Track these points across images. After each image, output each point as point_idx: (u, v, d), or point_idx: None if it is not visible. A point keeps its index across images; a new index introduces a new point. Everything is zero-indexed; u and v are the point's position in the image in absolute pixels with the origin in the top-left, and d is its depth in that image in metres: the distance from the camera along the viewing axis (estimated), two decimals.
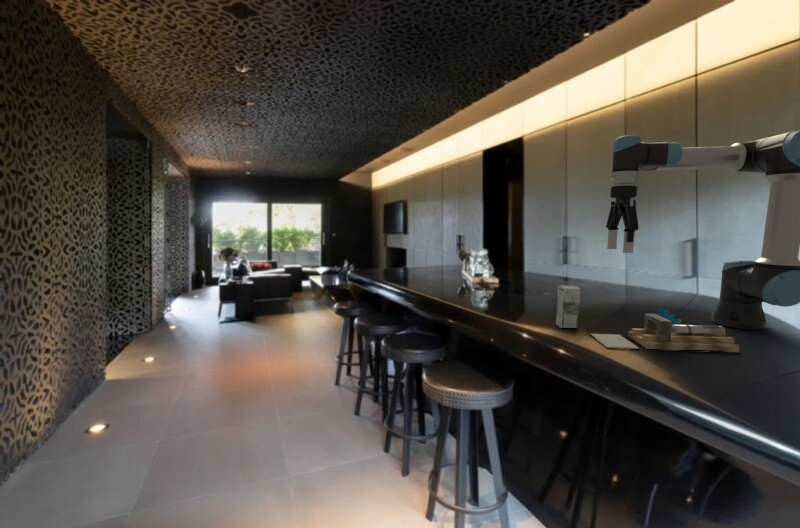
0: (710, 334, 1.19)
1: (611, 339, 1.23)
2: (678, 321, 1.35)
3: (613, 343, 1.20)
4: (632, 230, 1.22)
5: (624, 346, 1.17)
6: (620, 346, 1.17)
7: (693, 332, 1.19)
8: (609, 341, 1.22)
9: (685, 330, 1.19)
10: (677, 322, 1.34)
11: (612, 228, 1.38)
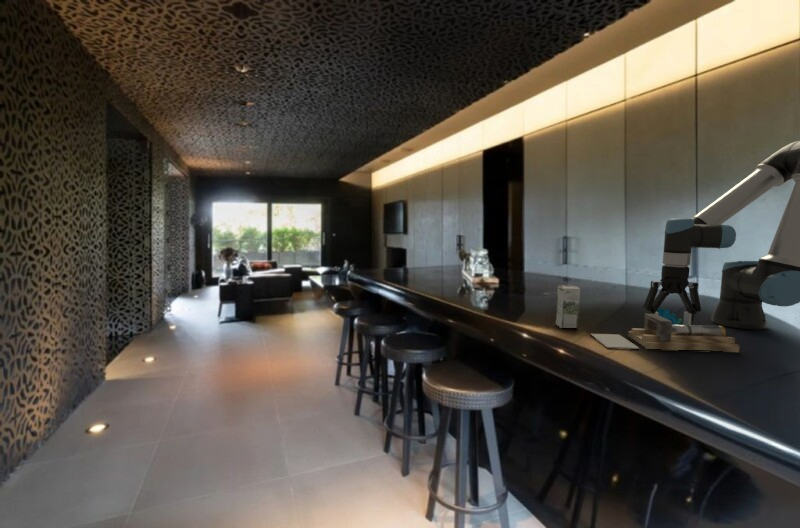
0: (710, 334, 1.19)
1: (611, 339, 1.23)
2: (679, 321, 1.35)
3: (613, 343, 1.20)
4: None
5: (624, 346, 1.17)
6: (620, 346, 1.17)
7: (693, 332, 1.19)
8: (609, 341, 1.22)
9: (685, 330, 1.19)
10: (677, 322, 1.34)
11: (689, 310, 1.33)
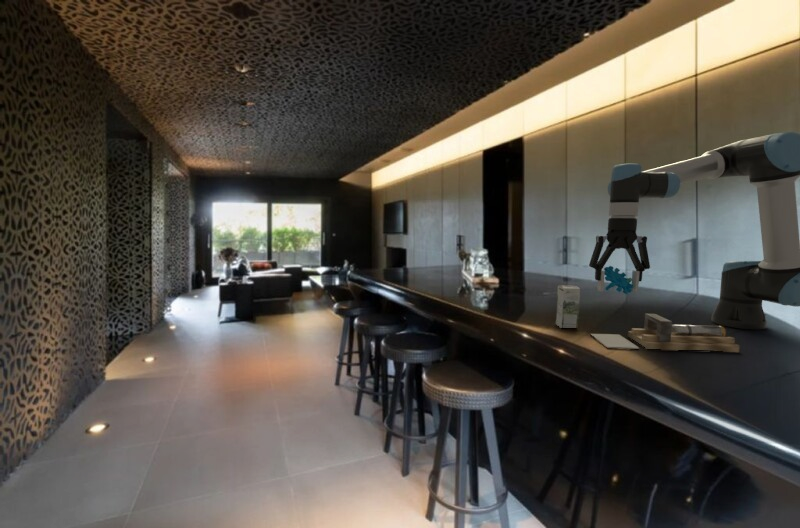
0: (710, 334, 1.19)
1: (611, 339, 1.23)
2: (628, 280, 1.22)
3: (613, 343, 1.20)
4: None
5: (624, 346, 1.17)
6: (620, 346, 1.17)
7: (693, 332, 1.19)
8: (609, 341, 1.22)
9: (685, 330, 1.19)
10: (626, 281, 1.21)
11: (637, 268, 1.20)
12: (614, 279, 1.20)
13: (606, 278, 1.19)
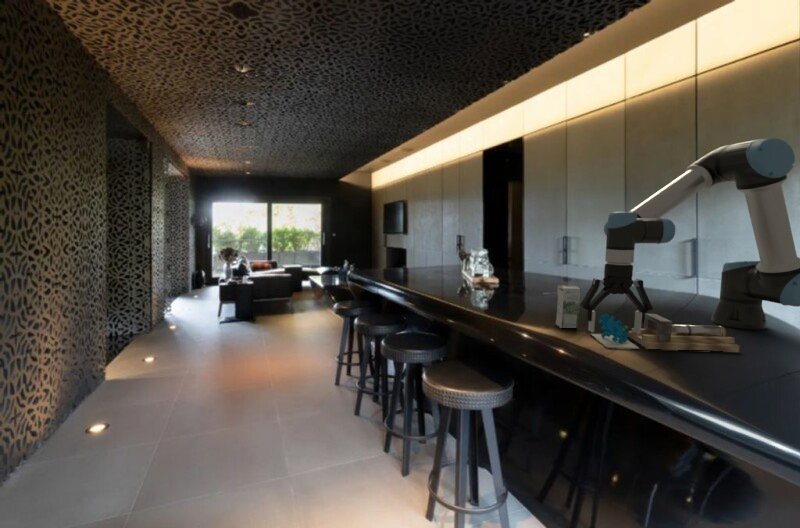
0: (710, 334, 1.19)
1: (611, 339, 1.23)
2: (623, 328, 1.24)
3: (613, 343, 1.20)
4: None
5: (624, 346, 1.17)
6: (620, 346, 1.17)
7: (693, 332, 1.19)
8: (609, 341, 1.22)
9: (685, 330, 1.19)
10: (622, 329, 1.23)
11: (640, 309, 1.21)
12: (610, 328, 1.21)
13: (602, 327, 1.21)
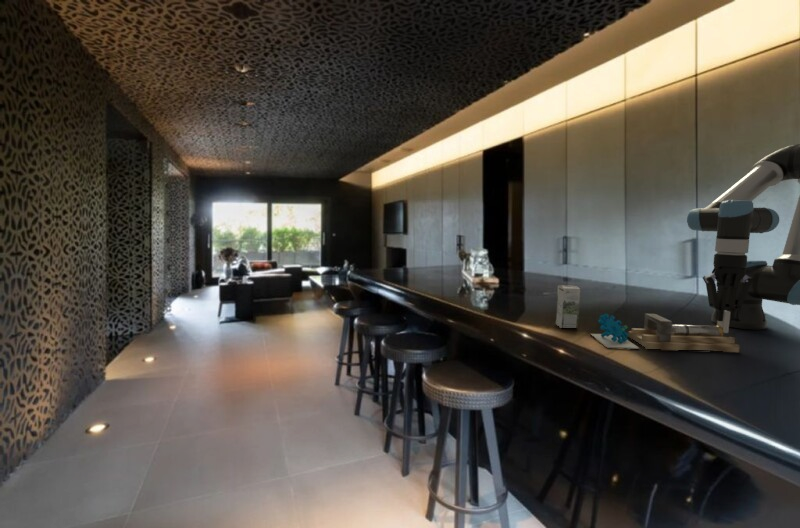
0: (708, 334, 1.19)
1: None
2: (623, 328, 1.24)
3: (613, 343, 1.20)
4: None
5: (624, 346, 1.17)
6: (620, 346, 1.17)
7: (691, 332, 1.19)
8: (609, 341, 1.22)
9: (682, 330, 1.19)
10: (621, 329, 1.23)
11: (727, 308, 1.19)
12: (609, 328, 1.21)
13: (601, 327, 1.21)
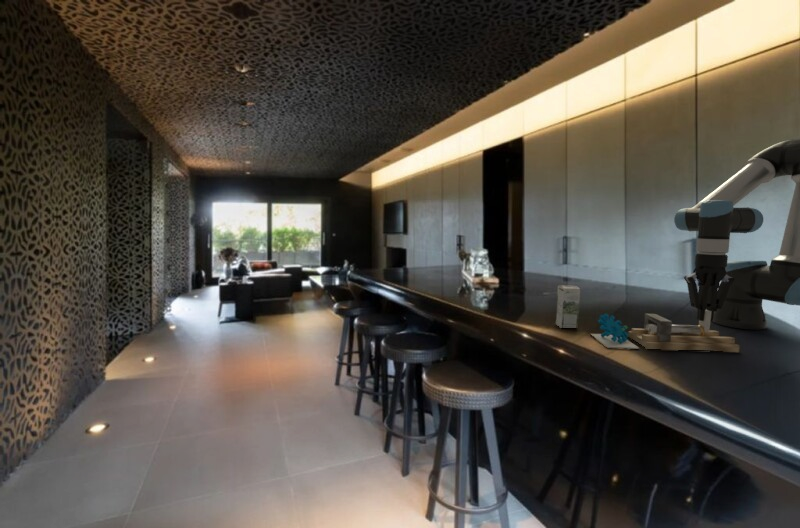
0: (689, 333, 1.19)
1: None
2: (623, 328, 1.24)
3: (613, 343, 1.20)
4: None
5: (624, 346, 1.17)
6: (620, 346, 1.17)
7: (672, 332, 1.19)
8: (609, 341, 1.22)
9: None
10: (621, 329, 1.23)
11: (708, 308, 1.19)
12: (609, 328, 1.22)
13: (601, 327, 1.21)
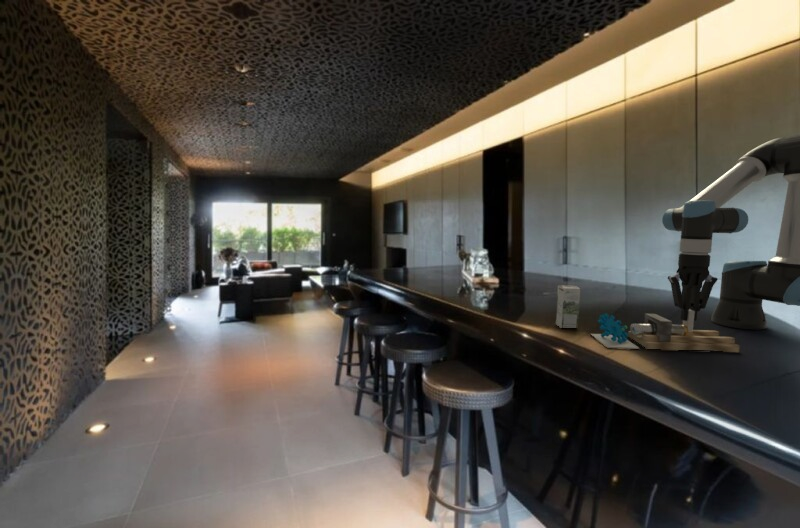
0: (673, 333, 1.20)
1: None
2: (623, 328, 1.24)
3: (613, 343, 1.20)
4: (679, 307, 1.20)
5: (624, 346, 1.17)
6: (620, 346, 1.17)
7: (656, 331, 1.20)
8: (609, 341, 1.22)
9: (648, 329, 1.20)
10: (621, 329, 1.23)
11: (691, 308, 1.20)
12: (609, 328, 1.22)
13: (601, 327, 1.21)
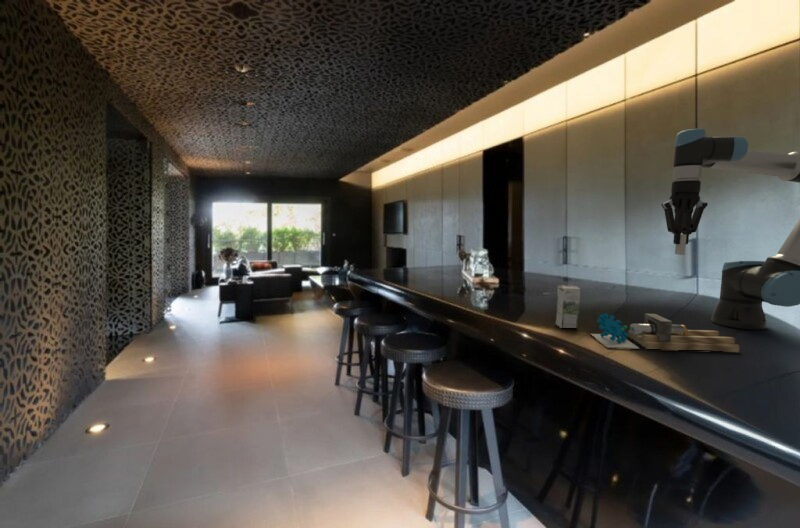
0: (672, 333, 1.20)
1: None
2: (623, 328, 1.24)
3: (613, 343, 1.20)
4: (672, 232, 1.29)
5: (624, 346, 1.17)
6: (620, 346, 1.17)
7: (655, 331, 1.20)
8: (609, 341, 1.22)
9: (647, 329, 1.20)
10: (621, 329, 1.23)
11: (683, 232, 1.29)
12: (608, 328, 1.22)
13: (600, 327, 1.22)
